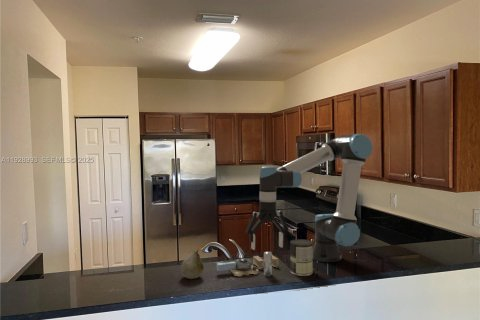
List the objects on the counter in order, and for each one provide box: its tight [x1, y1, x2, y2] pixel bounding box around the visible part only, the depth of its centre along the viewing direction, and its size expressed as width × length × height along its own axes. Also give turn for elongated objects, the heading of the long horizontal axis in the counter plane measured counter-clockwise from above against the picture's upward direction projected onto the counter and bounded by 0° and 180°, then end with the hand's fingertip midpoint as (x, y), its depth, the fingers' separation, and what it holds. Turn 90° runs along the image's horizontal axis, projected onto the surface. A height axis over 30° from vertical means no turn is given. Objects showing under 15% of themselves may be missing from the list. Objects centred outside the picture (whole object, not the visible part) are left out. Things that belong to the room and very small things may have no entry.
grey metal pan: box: [216, 257, 253, 272], centre depth 162 cm, size 16×8×4 cm, turn 109°
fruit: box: [180, 249, 205, 280], centre depth 156 cm, size 10×9×12 cm
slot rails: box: [252, 254, 279, 270], centre depth 172 cm, size 10×8×4 cm
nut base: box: [229, 265, 260, 277], centre depth 164 cm, size 11×11×3 cm
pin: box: [263, 251, 273, 277], centre depth 159 cm, size 4×4×10 cm
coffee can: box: [289, 238, 314, 277], centre depth 162 cm, size 10×10×14 cm
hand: (267, 247), depth 159 cm, fingers open, 13 cm apart
